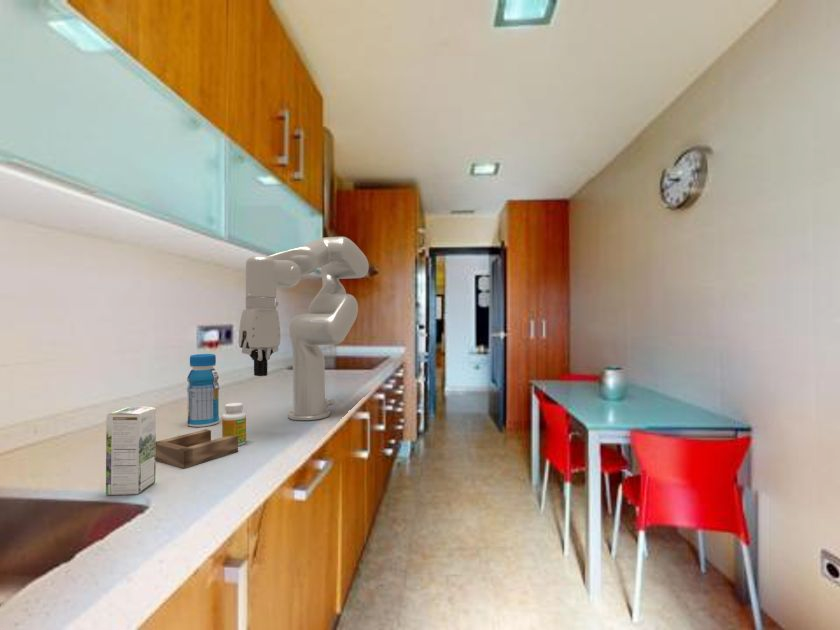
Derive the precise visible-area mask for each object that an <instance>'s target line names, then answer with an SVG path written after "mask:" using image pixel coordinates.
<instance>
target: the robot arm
mask: <svg viewBox="0 0 840 630" xmlns="http://www.w3.org/2000/svg"><path fill="white" fill-rule="evenodd" d="M369 266H370V265H369V261H368V258H367V256H366V255H365V254H364V252H363V250H361V248H359V247H358V245H357V244H356V243H355V242H353V241H352V240H351V239H350V238H348V237H346V236H327V237H320V238H316V239H315V240H312V241H309V242H308V243H306V244H303V245H302V246H299V247H295V248H291V249H288V250H285V251H281V252H277V253H274V254H271V255H268V256H267V255H266V256H251V257H249V258H247V259H246V262H245V309H242V312H241V317H240V321H239V329H238V347H239V348H240V349H241V353H242V354H244V355H249V356H250V358H251V360H252V361H253V375H254V377H267V376H268V361H269V360H270V359H271V356H272V355H273V354H274V353H276V352H278V351H279V346H280V344H281V325H280V316H279V311H278V310H277V307H278V306H279V302H278V301H277V289H280V288H281V289H282V288H284V289H285V288H292V287H295V286H297V285H298V284H299V282H301V279H302V276H304V275H308V274H312V273H314V272H316V271H317V270H319V269H320V272H321V273H320V274H321V280H322V281H321V282H322V285H321V286H322V287H321V289H320V290H319V291H318V292H317V294H316V295H315V296H314V298H313V299H312V300H311V302H310V304H309V306H308V311H307V313H301V314H298V315H295V316H294V317H293V318H292V319H291V320H290V322H289V326H288V332H289V337H290V341H291V350H292V383H293V384H292V385H293V386H292V390H293V391H292V392H293V395H292V404H293V405H292V406H293V408H292V410H291V411H289V412H288V413H287V418H289V420H293V421H314V420H315V421H316V420H321V419H325V418H328V417H330V416H331V411H330V409H328V407H329V406H334V405H335V404H336V403H335V399H333V398H330V399H326V386H325V385H326V382H325V381H326V378H325V376H326V375H325V374H326V373H325V372H326V371H325V369H326V368H325V367H326V359H325V355H324V353H323V351H322V349H321V348H320V346H334V345H335V346H336V345H339V344H341V343H342V342H343V341H344V340H345V339H346V337H347V335H348V334H349V332H350V330H351V328H352V327H353V325H354V323H355V321H356V319H357V317H358V313H359V304H358V301H357V298H355V296H354V295H352V294H349V293H347V291H346V289H345V287H344V285H343V284H342V283H341V281H340V279H341V280H343V279H345V280H347V279H362V278H364V277H366V276H367V274H368V272H369Z"/></svg>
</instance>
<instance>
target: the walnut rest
mask: <svg viewBox="0 0 840 630" xmlns="http://www.w3.org/2000/svg"><path fill="white" fill-rule="evenodd" d="M238 452H239V446H238V436H236V435H230V436H226V437H223V438H222V437H219V438H215V439H212V430H211V429H202V430H198V431H193V432H190V433H187V434H186V433H185V434H181V435H177V436H173V437H170V438H165V439H162V440H158V441H157V440H156V461H157V462H159V463H164V464H167V465H169V466H173V467H176V468H180V469H184V470H185V469H187V468H190V467H194V466H196V465H199V464H200V465H201V464H203V463H206V462H210V461H212V460H216V459H220V458H222V457H225V456H229V455H231V454H235V453H238Z"/></svg>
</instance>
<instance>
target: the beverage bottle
mask: <svg viewBox="0 0 840 630" xmlns="http://www.w3.org/2000/svg"><path fill="white" fill-rule="evenodd" d="M216 359H217V357H216V354H214V353H200V354H199V353H197V354H191V355H190V356H189V367H190V368H192V369H191V370H190V372H189V373H188V375H187V378H186V380H187V382H188V385H187V386H186V392H187V393H186V394H187V425H188V426H189V427H193V428H205V427H209V426H210V427H211V426H214V425H216V424H218V423H219V420H220V416H219V415H220V414H219V411H220V410H219V403H220V402H219V391H220V385H219V384H220V383H218V382H219V381H218V380H219V378H220V377H219V374H218V371H216V369H215V368H214V367H215V366H216V364H217V363H216V362H217V360H216Z"/></svg>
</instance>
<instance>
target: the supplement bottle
mask: <svg viewBox="0 0 840 630" xmlns="http://www.w3.org/2000/svg"><path fill="white" fill-rule="evenodd" d="M243 410H244V404H243V403H242V402H231V403H226V404H225V405H224V411H225V413H223V414H222V417H221V425H222V426H221V430H222V431H221V433H222V434H221V435H222V437H221V438H223V437H226V436H230V435H236V436H238V447H239V446H243V445H244V444H246V443H247V414H246V413H245V412H244V411H243Z"/></svg>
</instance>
